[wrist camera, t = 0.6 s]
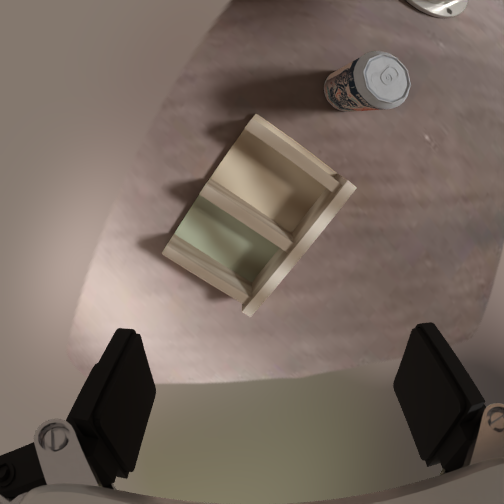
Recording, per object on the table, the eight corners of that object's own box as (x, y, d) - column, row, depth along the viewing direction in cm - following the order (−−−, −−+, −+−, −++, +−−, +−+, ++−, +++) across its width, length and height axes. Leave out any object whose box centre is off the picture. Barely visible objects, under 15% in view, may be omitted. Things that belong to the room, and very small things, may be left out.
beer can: (313, 90, 30) (344, 74, 19) (341, 62, 29) (383, 36, 18) (345, 120, 31) (390, 121, 20) (372, 92, 30) (425, 83, 19)
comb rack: (255, 113, 31) (256, 112, 27) (343, 179, 34) (356, 187, 29) (168, 243, 37) (157, 260, 32) (250, 295, 40) (250, 317, 35)
